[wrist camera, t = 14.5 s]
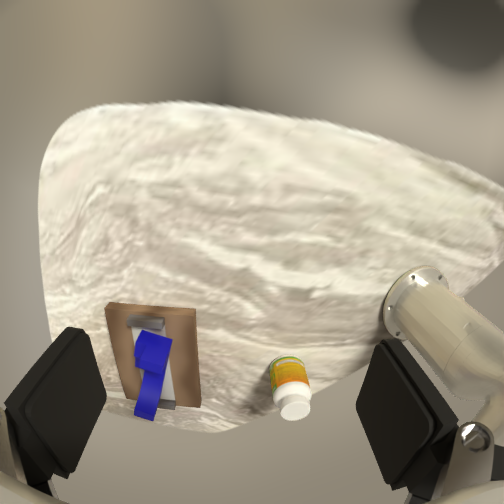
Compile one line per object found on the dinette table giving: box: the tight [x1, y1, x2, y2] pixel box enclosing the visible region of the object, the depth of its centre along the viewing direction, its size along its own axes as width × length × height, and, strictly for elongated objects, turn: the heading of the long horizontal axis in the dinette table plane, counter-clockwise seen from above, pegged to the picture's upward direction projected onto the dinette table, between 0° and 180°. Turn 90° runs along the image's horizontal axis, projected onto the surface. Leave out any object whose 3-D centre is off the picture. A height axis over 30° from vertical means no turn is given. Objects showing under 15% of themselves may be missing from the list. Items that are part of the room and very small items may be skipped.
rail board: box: [104, 302, 201, 410], centre depth 40 cm, size 13×18×4 cm
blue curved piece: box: [134, 330, 173, 421], centre depth 36 cm, size 12×4×6 cm, turn 162°
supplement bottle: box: [269, 355, 312, 421], centre depth 38 cm, size 5×5×10 cm
